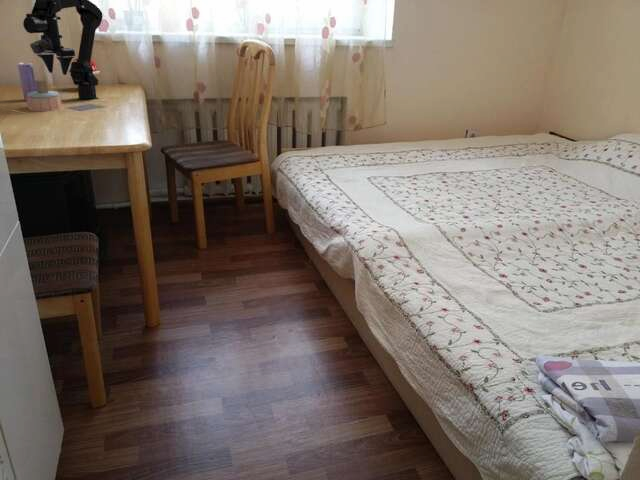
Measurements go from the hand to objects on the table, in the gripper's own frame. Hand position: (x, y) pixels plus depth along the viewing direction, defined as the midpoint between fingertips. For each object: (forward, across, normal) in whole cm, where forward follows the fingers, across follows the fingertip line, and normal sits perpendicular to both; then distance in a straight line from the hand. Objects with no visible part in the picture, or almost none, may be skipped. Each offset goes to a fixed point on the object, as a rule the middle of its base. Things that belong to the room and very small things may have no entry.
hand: (57, 73), depth 213 cm
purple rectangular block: (+13, -20, -1) cm, 24 cm away
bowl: (+12, +2, -9) cm, 16 cm away
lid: (+8, +2, -9) cm, 12 cm away
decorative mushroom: (+13, -27, +31) cm, 43 cm away
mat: (+12, +12, +2) cm, 17 cm away
